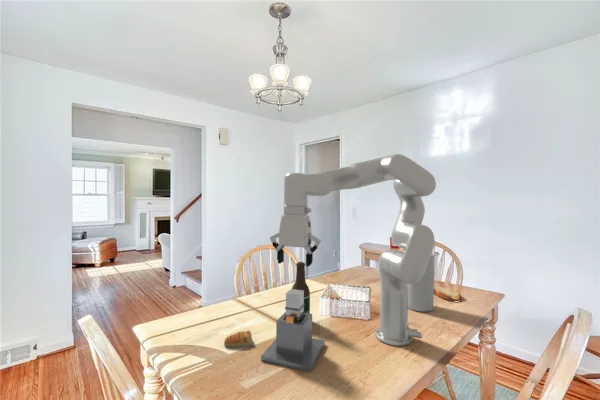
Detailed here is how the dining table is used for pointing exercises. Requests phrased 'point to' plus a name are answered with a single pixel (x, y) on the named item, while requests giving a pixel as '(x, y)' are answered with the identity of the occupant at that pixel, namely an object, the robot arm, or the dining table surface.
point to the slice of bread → (447, 293)
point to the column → (295, 304)
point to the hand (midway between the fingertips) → (294, 264)
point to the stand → (294, 344)
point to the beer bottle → (302, 285)
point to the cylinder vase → (423, 290)
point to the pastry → (239, 339)
